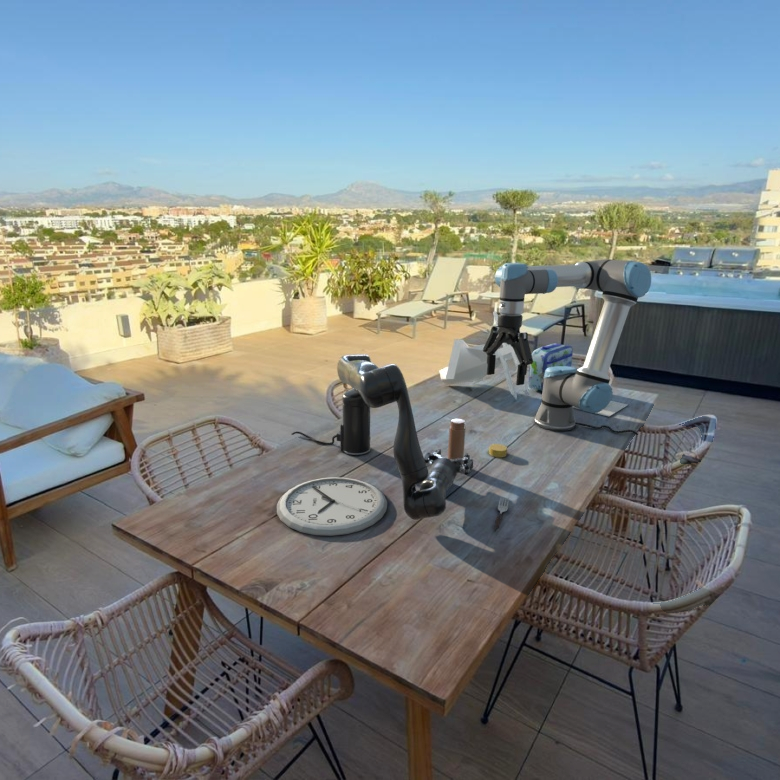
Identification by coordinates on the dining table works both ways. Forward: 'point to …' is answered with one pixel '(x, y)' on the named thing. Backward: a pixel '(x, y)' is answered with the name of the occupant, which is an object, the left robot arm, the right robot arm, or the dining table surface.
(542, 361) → the lunch box
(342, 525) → the wall clock
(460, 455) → the jar
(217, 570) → the dining table surface
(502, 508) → the fork
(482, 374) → the white plastic object
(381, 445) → the dining table surface
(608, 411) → the invitation card
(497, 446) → the lid
